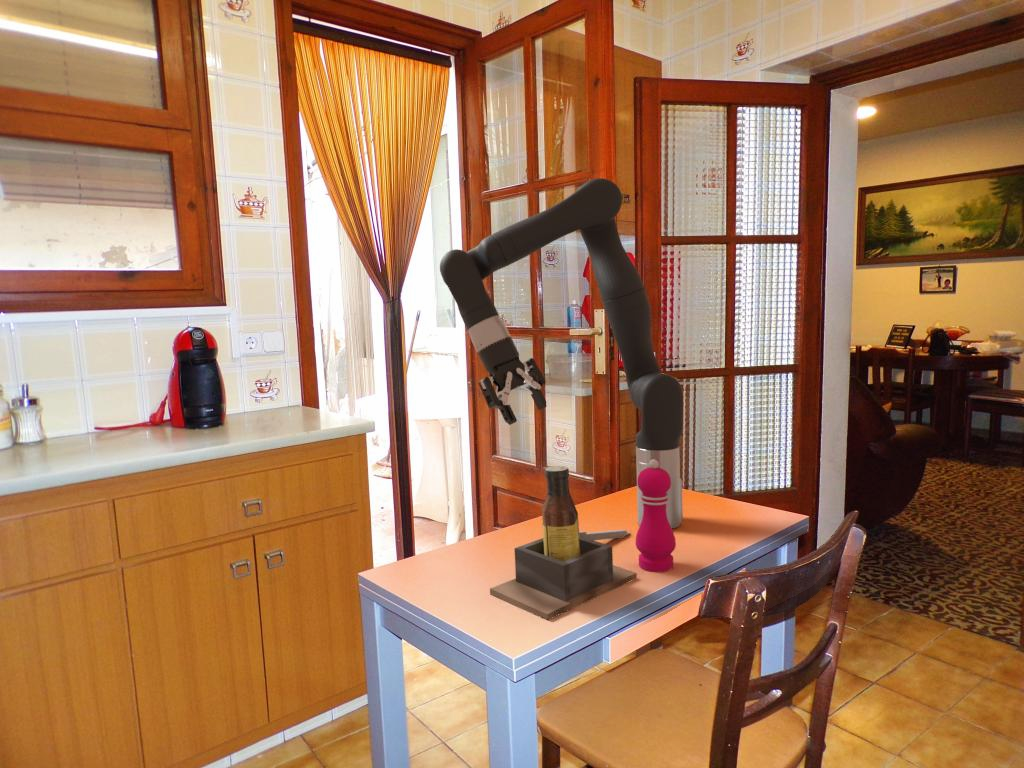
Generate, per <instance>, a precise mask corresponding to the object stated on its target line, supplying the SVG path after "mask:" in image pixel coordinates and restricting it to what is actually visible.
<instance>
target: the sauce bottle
mask: <svg viewBox="0 0 1024 768" xmlns="http://www.w3.org/2000/svg"><path fill="white" fill-rule="evenodd" d="M544 476H545V478H546V486H547V487H546V488H547V489H546V493H547V494H546V498H545V500H544V501H543V504H542V505H541V514H542V536H543V537H542V538H543V540H544V554H545V555H546V556H548V557H551V558H554V559H557V560H560V561H563V562H564V561H567V560H569V559H572V558H574V557H577V556H579V555H580V539H579V531H580V527H579V525H580V524H579V513H578V509H577V508H576V505H575V502H574V501H573V498H572V495H571V492H570V485H569V476H570V471H569V468H568V467H567V466H564V465H554V466H549V467H546V468H545V469H544Z"/></svg>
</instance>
